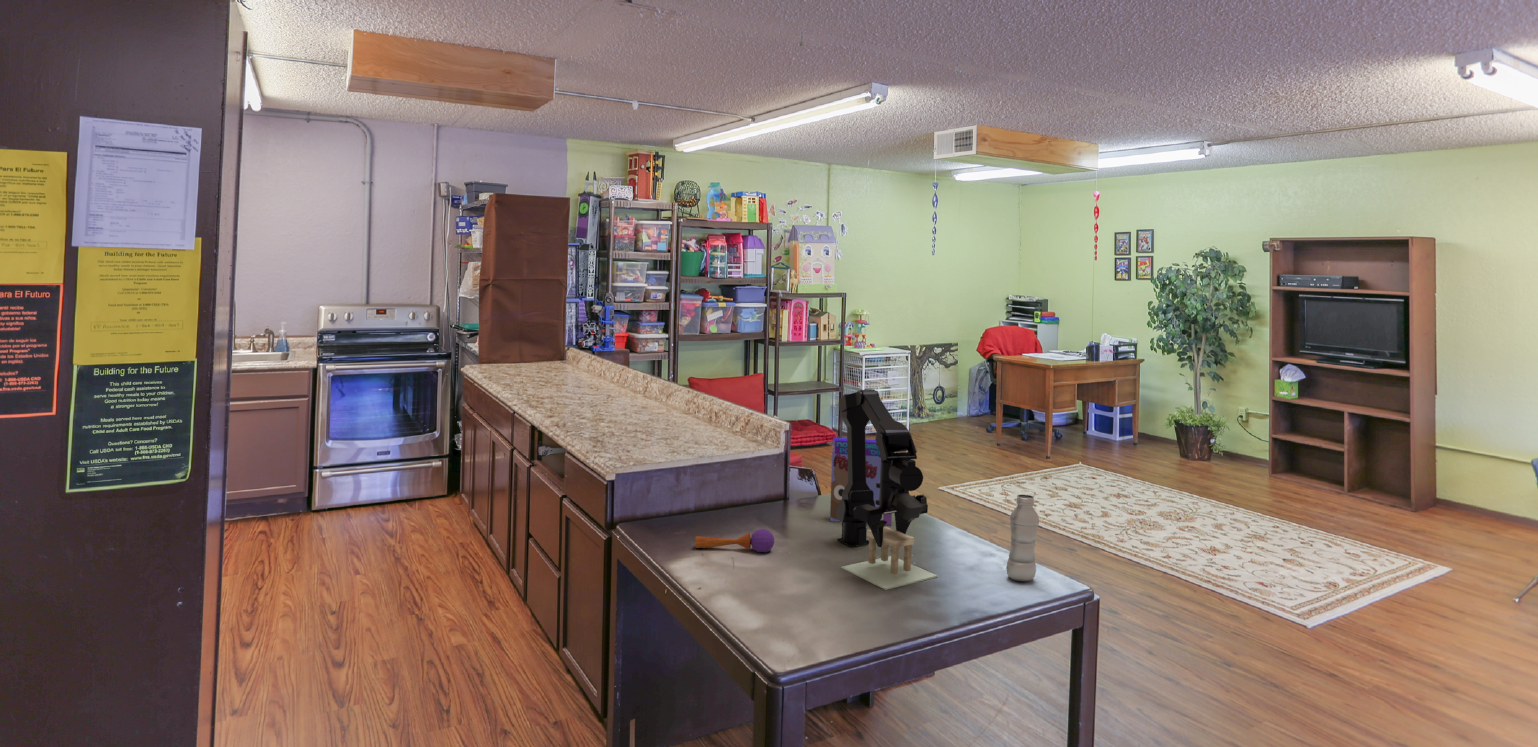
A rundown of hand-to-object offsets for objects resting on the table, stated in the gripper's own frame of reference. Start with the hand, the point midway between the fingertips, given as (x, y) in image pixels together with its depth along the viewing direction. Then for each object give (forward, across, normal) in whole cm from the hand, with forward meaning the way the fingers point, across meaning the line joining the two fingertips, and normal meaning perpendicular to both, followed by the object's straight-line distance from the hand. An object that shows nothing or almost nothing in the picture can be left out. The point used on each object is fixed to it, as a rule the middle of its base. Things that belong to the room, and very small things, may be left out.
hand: (889, 544), depth 190 cm
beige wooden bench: (+5, 0, 0) cm, 5 cm away
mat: (+7, 0, 0) cm, 7 cm away
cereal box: (+7, +21, +36) cm, 42 cm away
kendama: (+7, -24, +32) cm, 41 cm away
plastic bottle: (+7, +24, -19) cm, 31 cm away
